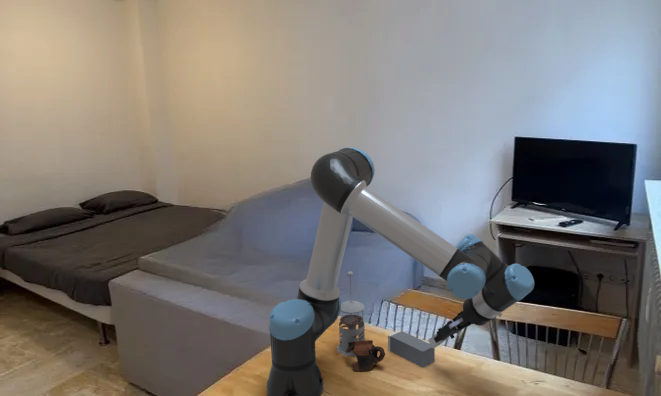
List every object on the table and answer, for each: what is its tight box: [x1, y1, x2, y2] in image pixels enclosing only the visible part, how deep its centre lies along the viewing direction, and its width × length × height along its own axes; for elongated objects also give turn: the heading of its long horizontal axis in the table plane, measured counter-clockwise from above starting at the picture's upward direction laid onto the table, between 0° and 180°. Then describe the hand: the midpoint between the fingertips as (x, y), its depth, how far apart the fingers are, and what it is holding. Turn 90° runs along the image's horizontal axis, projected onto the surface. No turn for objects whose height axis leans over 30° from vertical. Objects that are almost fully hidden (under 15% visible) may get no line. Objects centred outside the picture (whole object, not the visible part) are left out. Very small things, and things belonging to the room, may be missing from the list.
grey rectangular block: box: [387, 329, 436, 368], centre depth 158 cm, size 5×5×14 cm
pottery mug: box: [346, 339, 386, 372], centre depth 155 cm, size 12×10×8 cm
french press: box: [336, 271, 366, 357], centre depth 162 cm, size 10×12×25 cm
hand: (432, 343), depth 151 cm, fingers closed
